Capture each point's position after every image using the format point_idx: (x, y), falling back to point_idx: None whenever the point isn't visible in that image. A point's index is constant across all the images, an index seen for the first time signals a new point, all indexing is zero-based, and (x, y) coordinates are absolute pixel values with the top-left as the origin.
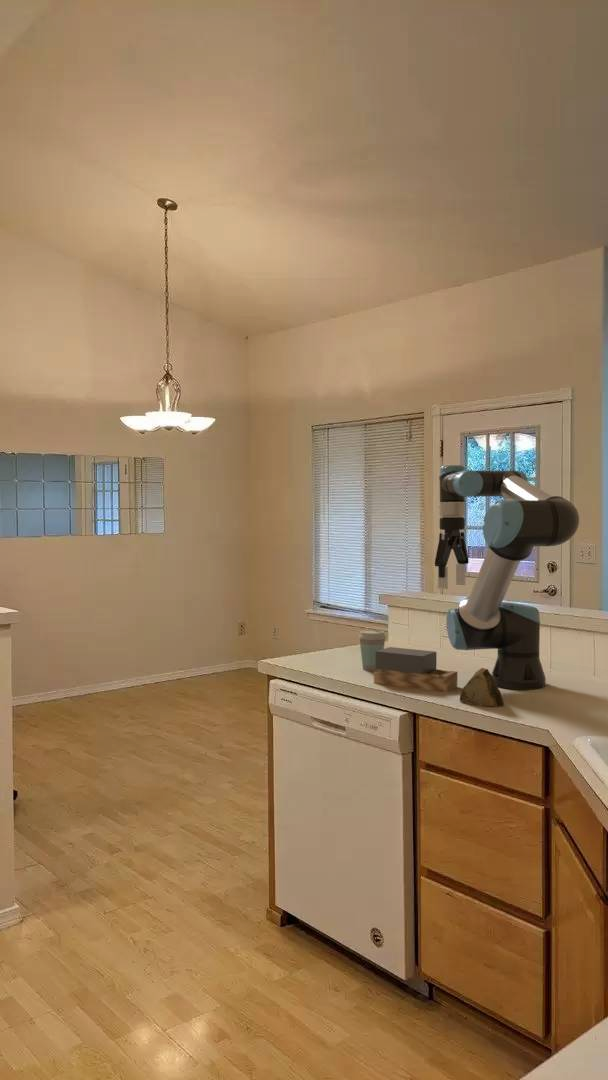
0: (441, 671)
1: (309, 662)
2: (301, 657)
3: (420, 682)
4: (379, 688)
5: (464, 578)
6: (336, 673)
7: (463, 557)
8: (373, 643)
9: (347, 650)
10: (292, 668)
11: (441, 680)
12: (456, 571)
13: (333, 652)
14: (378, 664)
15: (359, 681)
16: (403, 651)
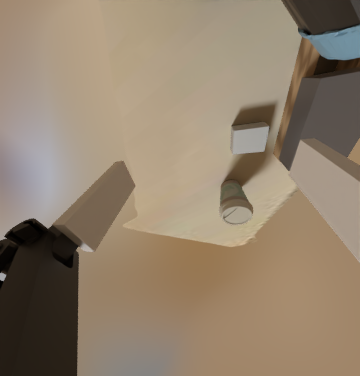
0: (318, 56)
1: (227, 230)
2: (212, 239)
3: None
4: None
5: (110, 174)
6: (263, 200)
7: (32, 272)
8: (248, 201)
9: (168, 230)
10: (257, 229)
11: None
12: (113, 219)
13: (181, 233)
14: None
15: None
16: (333, 133)
